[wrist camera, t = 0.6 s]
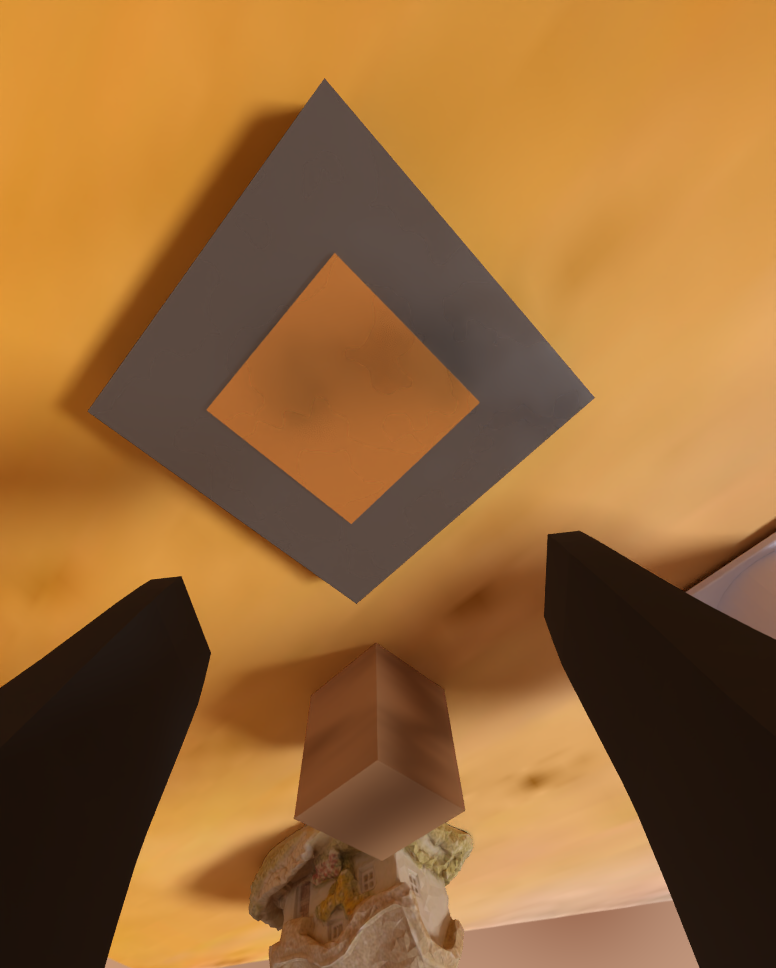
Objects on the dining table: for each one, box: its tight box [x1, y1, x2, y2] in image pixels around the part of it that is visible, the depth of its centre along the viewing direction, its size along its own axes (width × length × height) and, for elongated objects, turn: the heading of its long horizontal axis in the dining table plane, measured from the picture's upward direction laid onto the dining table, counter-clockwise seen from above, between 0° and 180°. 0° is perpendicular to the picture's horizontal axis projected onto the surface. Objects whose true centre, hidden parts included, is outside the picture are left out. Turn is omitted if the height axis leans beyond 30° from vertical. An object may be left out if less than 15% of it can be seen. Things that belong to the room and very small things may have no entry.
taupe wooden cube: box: [294, 643, 465, 861], centre depth 21 cm, size 5×5×6 cm
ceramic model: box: [249, 823, 473, 968], centre depth 26 cm, size 14×11×10 cm
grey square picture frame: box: [88, 78, 594, 604], centre depth 16 cm, size 12×12×2 cm
